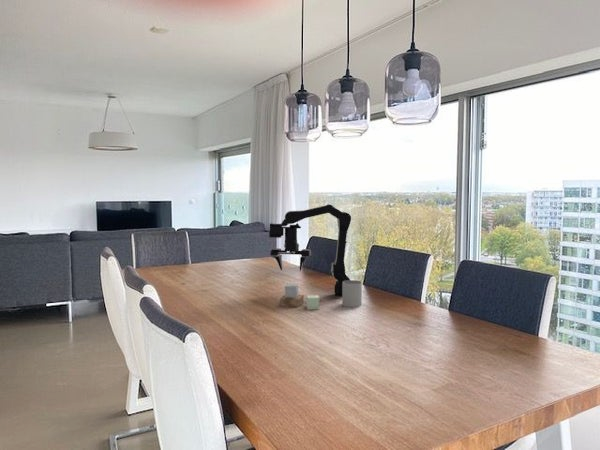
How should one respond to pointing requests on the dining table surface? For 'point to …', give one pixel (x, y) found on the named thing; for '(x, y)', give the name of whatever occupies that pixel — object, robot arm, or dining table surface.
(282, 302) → the walnut base
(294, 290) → the grey cube
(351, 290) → the cup
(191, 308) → the dining table surface
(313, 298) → the sage cube
